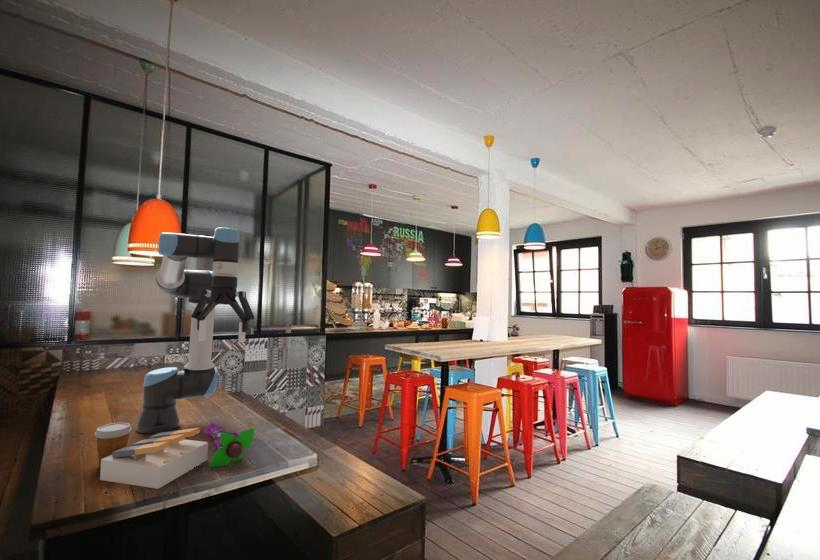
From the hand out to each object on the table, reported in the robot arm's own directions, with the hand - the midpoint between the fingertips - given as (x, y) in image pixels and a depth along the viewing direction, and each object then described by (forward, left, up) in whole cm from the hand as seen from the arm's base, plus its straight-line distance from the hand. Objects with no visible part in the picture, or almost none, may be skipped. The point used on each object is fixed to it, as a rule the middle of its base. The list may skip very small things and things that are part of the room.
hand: (221, 341), depth 129 cm
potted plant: (-8, +13, -41) cm, 43 cm away
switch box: (-16, -6, -40) cm, 44 cm away
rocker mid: (-16, -6, -32) cm, 36 cm away
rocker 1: (-16, -12, -32) cm, 38 cm away
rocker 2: (-16, +1, -32) cm, 36 cm away
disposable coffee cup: (-32, -7, -41) cm, 52 cm away
